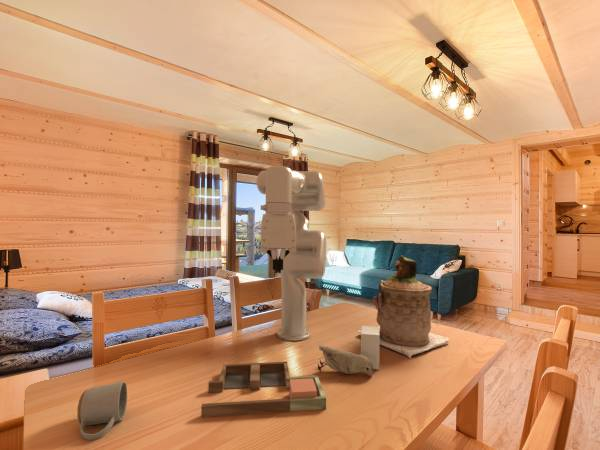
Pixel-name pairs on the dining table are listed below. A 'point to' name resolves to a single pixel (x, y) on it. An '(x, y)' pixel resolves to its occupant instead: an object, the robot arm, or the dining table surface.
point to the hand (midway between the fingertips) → (277, 272)
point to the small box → (370, 344)
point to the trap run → (269, 377)
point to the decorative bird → (346, 361)
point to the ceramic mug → (102, 407)
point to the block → (302, 388)
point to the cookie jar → (405, 312)
